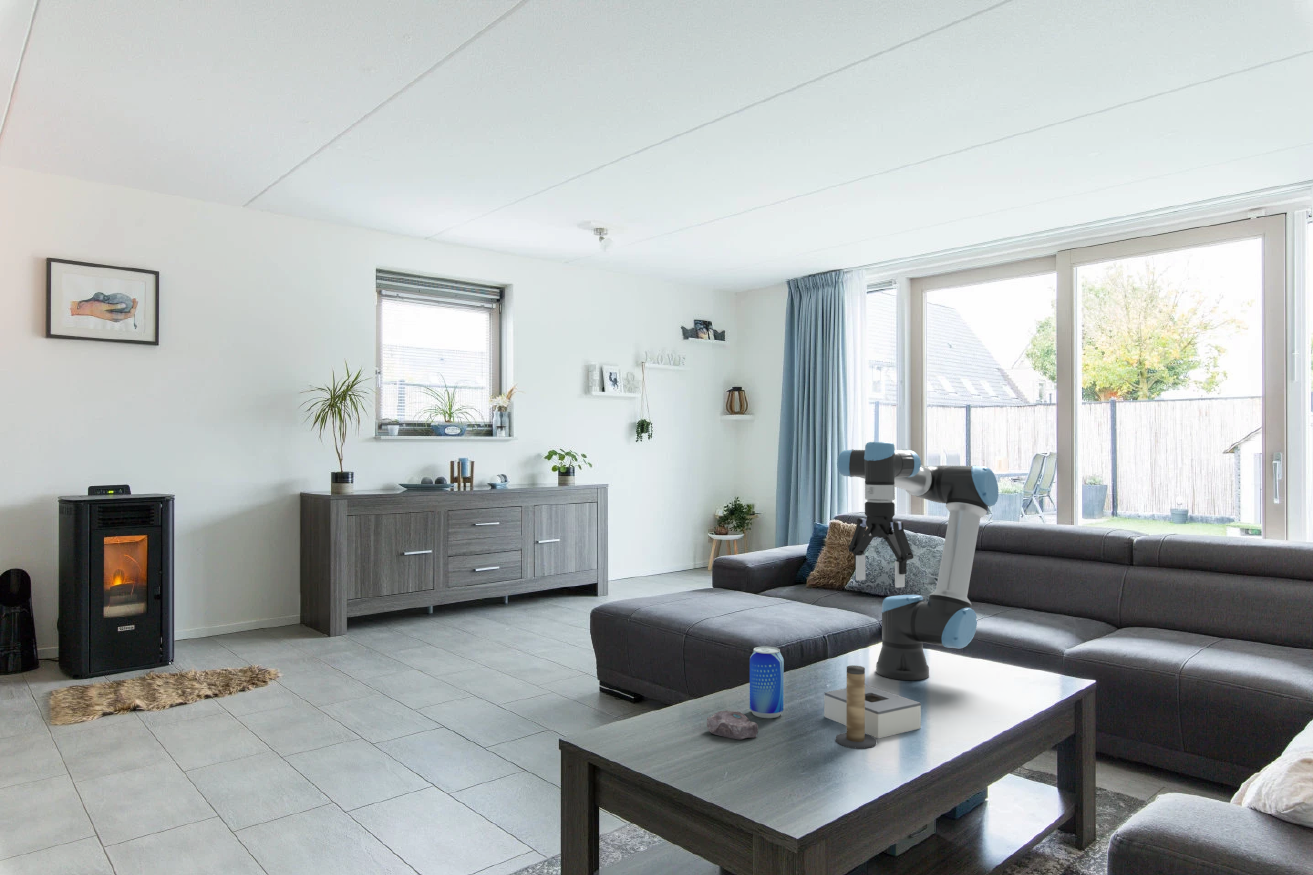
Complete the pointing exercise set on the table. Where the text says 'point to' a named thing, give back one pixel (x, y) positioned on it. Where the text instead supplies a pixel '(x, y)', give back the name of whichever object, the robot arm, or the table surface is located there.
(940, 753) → the table surface
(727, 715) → the rock
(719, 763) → the table surface
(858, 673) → the stylus
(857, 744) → the pad
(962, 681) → the table surface
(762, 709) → the beer can
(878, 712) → the box
